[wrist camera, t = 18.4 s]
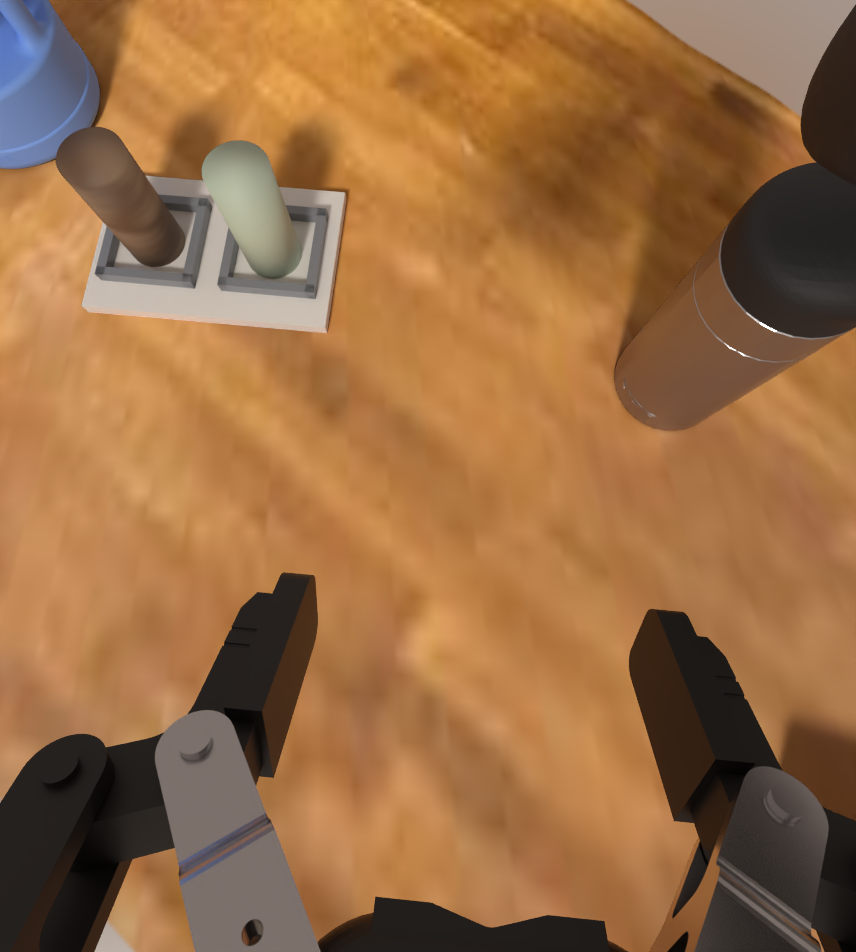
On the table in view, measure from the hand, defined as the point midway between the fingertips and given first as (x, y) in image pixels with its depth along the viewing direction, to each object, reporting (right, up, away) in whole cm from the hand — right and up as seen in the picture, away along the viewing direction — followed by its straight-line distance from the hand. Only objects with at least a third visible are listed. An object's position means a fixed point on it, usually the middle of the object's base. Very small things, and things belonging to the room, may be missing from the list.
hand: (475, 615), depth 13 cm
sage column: (-15, +24, +35) cm, 45 cm away
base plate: (-21, +24, +37) cm, 48 cm away
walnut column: (-26, +25, +36) cm, 51 cm away
